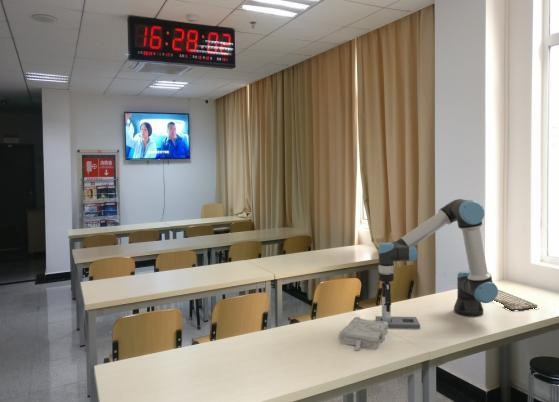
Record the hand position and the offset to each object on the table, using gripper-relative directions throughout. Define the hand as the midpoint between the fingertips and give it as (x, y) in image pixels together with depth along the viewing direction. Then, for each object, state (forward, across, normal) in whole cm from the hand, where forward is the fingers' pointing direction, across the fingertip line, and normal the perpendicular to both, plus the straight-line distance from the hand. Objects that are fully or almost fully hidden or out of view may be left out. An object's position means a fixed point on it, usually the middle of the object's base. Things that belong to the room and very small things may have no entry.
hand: (386, 313), depth 233 cm
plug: (+6, 0, 0) cm, 6 cm away
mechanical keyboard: (+7, -46, +75) cm, 88 cm away
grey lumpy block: (+7, +21, -13) cm, 26 cm away
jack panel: (+6, 0, +6) cm, 8 cm away
